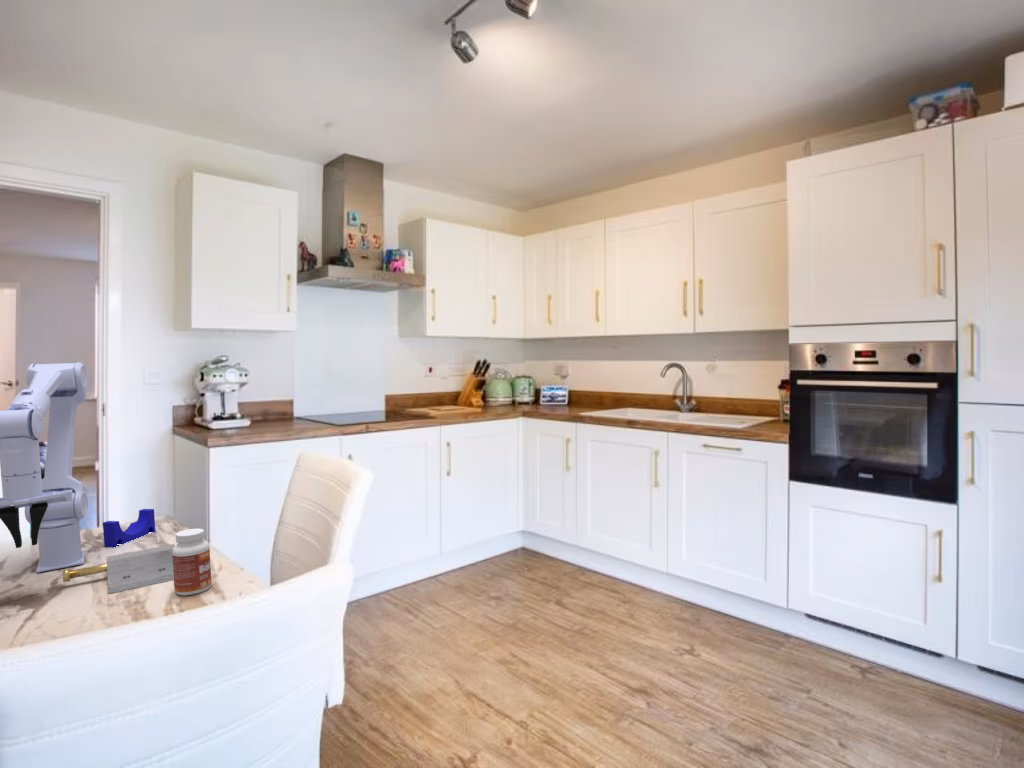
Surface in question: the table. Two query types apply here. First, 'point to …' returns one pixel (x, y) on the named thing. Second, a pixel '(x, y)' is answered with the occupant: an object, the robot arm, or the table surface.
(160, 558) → the steel hinge
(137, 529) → the blue u-shaped cradle block
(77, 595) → the table surface
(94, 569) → the brass headed pin
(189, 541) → the pill bottle
